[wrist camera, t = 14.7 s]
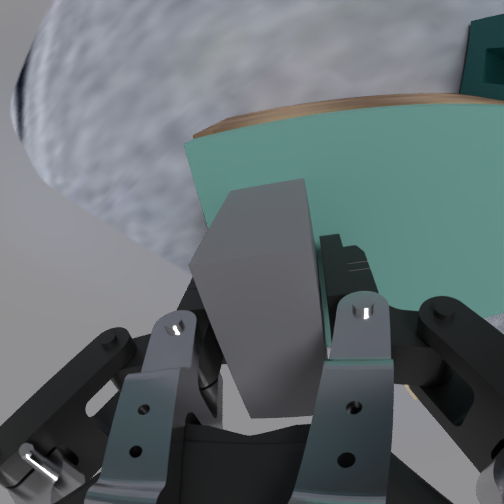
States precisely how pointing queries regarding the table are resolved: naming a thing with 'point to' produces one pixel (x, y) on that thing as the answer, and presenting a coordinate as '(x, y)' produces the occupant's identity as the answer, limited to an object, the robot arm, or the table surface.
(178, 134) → the table surface
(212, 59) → the table surface
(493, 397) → the robot arm
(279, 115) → the open wooden box
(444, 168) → the lid
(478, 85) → the bracket
